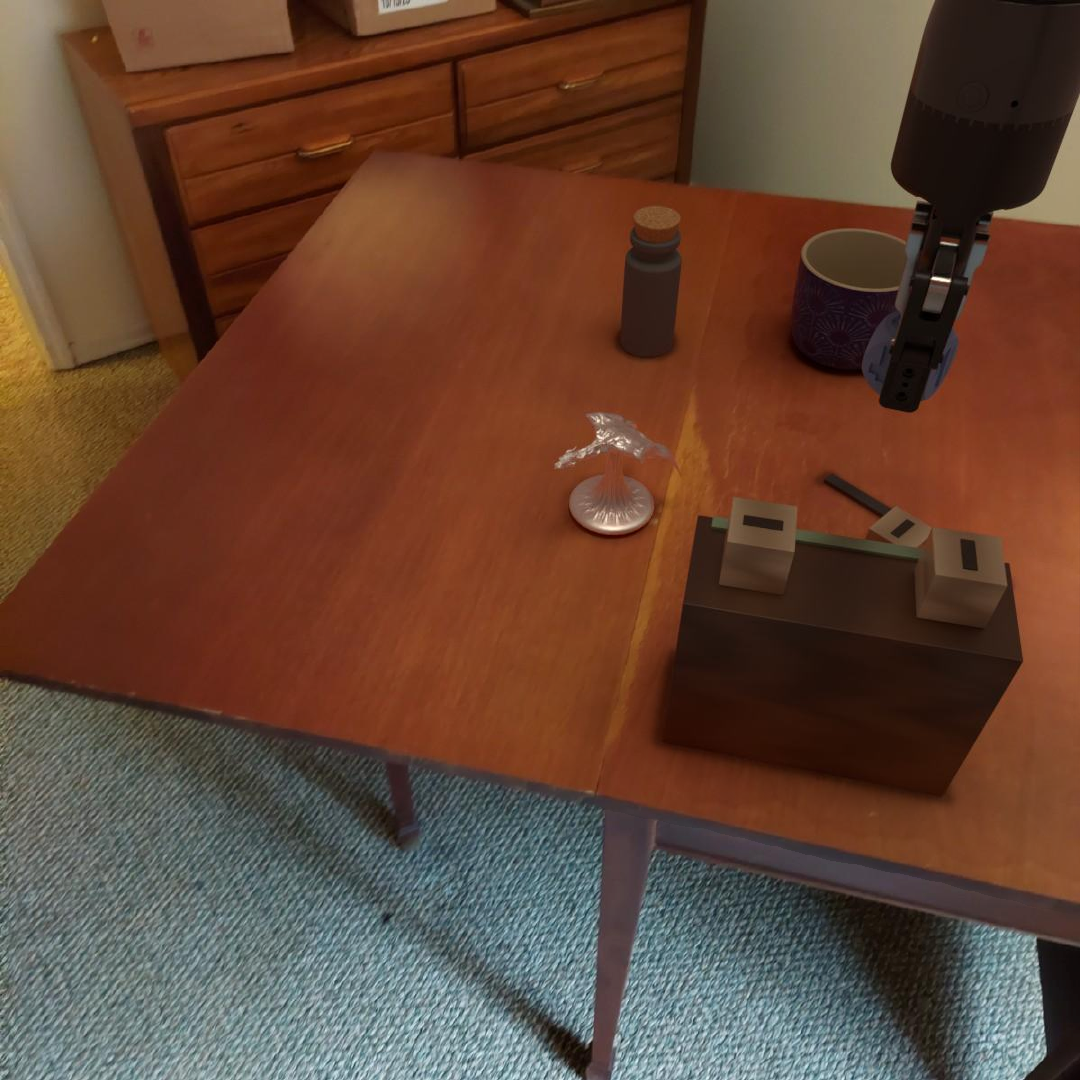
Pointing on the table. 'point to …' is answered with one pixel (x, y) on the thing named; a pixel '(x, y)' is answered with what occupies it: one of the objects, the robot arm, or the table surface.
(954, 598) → the dark brown block
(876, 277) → the planter
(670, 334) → the bottle
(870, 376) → the decorative dice
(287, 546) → the table surface
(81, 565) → the table surface
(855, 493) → the beige cubes with bar
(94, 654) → the table surface
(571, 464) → the figurine
